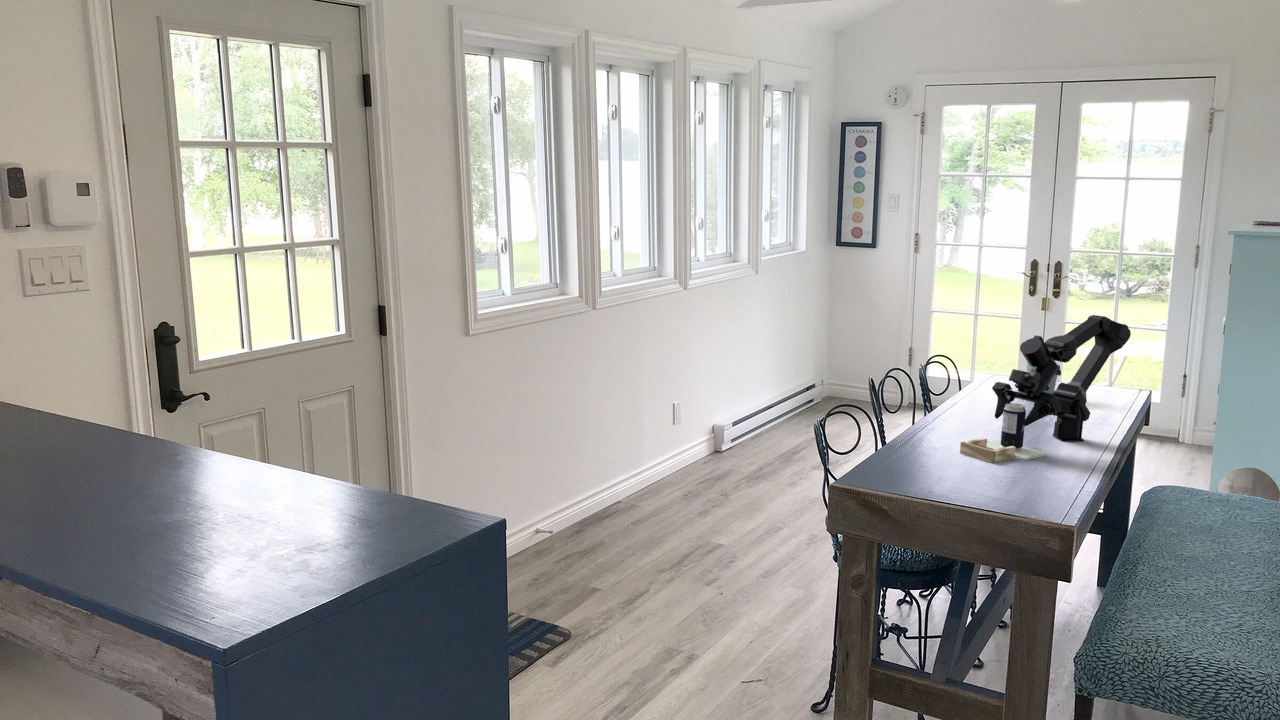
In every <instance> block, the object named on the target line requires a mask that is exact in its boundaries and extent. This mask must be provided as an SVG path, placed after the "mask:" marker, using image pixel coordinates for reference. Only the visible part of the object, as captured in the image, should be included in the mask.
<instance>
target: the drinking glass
mask: <svg viewBox="0 0 1280 720" xmlns="http://www.w3.org/2000/svg"><path fill="white" fill-rule="evenodd" d="M1026 362H1027V361H1026ZM1057 365H1059V364H1058V363H1057ZM1032 368H1033V366H1030V365H1029V363H1028V362H1027V363H1026V372H1028V373H1030V371H1031V370H1032ZM1057 379H1058V375H1054V377H1053V378H1052V380H1051V381H1050V383H1049V384H1048V387H1049V390H1048V391H1045V390H1044V391H1043V392H1046V393H1051V394H1053V392H1054V391H1055V390H1056V388H1055V387H1056V385H1057Z"/></svg>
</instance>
